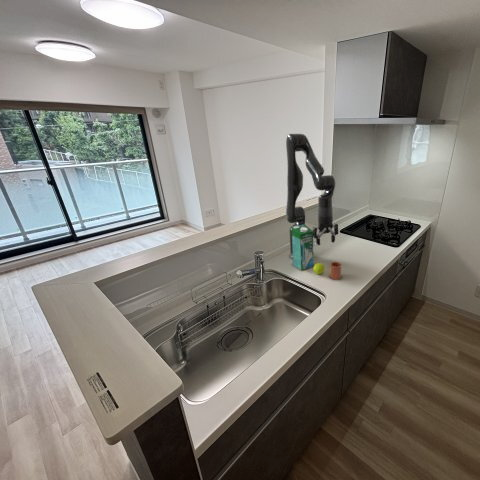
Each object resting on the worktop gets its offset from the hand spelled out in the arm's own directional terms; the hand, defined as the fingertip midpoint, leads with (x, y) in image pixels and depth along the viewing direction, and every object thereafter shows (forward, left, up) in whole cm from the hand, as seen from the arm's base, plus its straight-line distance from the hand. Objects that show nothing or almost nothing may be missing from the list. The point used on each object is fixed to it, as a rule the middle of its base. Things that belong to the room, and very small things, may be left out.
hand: (325, 243), depth 141 cm
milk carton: (-14, -10, -20) cm, 26 cm away
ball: (-2, -3, -16) cm, 17 cm away
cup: (+4, +5, -19) cm, 20 cm away
